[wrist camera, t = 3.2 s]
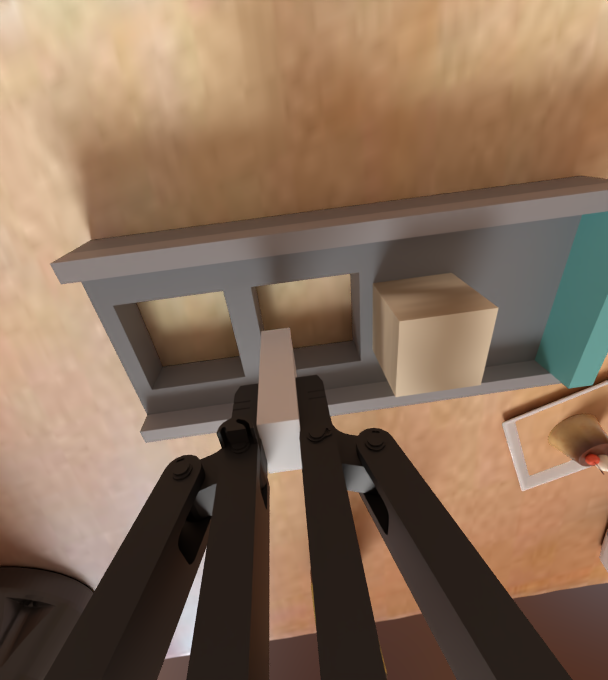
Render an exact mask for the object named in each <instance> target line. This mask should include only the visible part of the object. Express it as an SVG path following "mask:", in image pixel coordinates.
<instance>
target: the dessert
mask: <svg viewBox="0 0 608 680" xmlns="http://www.w3.org/2000/svg"><path fill="white" fill-rule="evenodd" d="M607 384H608V380H606V381H604V382H601V383H599V384H596V385H594V386H591V387H589V388H586V389H584V390H581V391H579V392H576V393H574V394H572V395H569V396H567V397H564V398H562V399H559V400H557V401H554V402H552V403H549V404H547V405H544V406H542V407H539V408H537V409H534V410H532V411H529V412H527V413H524V414H522V415H519V416H517V417H514V418H512V419H509V420H507V421H505V422H503V423H502V426H503V429H504V433H505V436H506V439H507V443H508V446H509V450H510V453H511V456H512V460H513V463H514V467H515V470H516V473H517V477H518V480H519V484H520V487H521V490H522V491H525V490H528V489H530V488H533V487H536V486H539V485H542V484H544V483H547V482H550V481H553V480H555V479H558V478H561V477H564V476H567V475H569V474H572V473H575V472H578V471H581V470H583V469H586V468H589V467H592V466H596V467H597V468H599V469H600V470H603V471H608V436H607V434H606V433H605V431H604V430H603V428H602V427H601V425H600V424H599V422H598V420H597V418H596V417H595V416H593V415H591V414H579V415H575V416H572V417H569V418H567V419H565V420H563V421H562V422H560V423H559V424H558V425H556V426H555V427H554V428H553V429H552V431H551V432H550V434H549V436H548V442H549V444H550V445H551V446H553V447H554V448H556V449H557V450H559V451H560V452H562V453H563V454H565V455H566V456H568V457H569V458H571V459H572V460H571V461H569V462H566V463H563V464H561V465H558V466H555V467H552V468H550V469H547V470H544V471H542V472H539V473H536V474H534V475H531V476H529V474H528V470H527V466H526V463H525V459H524V455H523V451H522V447H521V443H520V439H519V435H518V432H517V428H516V424H515V422H516V421H517V420H520V419H522V418H525V417H527V416H530V415H532V414H535V413H537V412H540V411H542V410H545V409H547V408H550V407H552V406H555V405H557V404H560V403H562V402H565V401H567V400H570V399H572V398H575V397H577V396H580V395H582V394H585V393H587V392H590V391H592V390H595V389H597V388H600V387H602V386H605V385H607ZM601 472H602V471H601ZM602 473H603V472H602ZM603 474H604V473H603Z"/></svg>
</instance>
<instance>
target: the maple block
mask: <svg viewBox="0 0 608 680" xmlns="http://www.w3.org/2000/svg"><path fill="white" fill-rule="evenodd" d="M497 313H498V307H497V306H496V305H494V304H493V303H492V302H490V301H489V300H488V299H486V298H485V297H484V296H482V295H481V294H480V293H478V292H477V291H475V290H474V289H473V288H471V287H470V286H469V285H467V284H466V283H465V282H463V281H462V280H461V279H459V278H458V277H457V276H455V275H454V274H453V273H445V274H438V275H430V276H423V277H416V278H408V279H401V280H394V281H386V282H379V283H373V345H372V350H373V352H374V354H375V356H376V358H377V360H378V362H379V364H380V366H381V368H382V370H383V372H384V374H385V377H386V379H387V381H388V383H389V385H390V387H391V389H392V391H393V393H394V395H395V397H400V396H408V395H415V394H422V393H429V392H436V391H443V390H450V389H457V388H464V387H471V386H478V385H481V382H482V377H483V373H484V369H485V365H486V360H487V356H488V352H489V347H490V343H491V339H492V334H493V330H494V326H495V321H496V317H497Z"/></svg>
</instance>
